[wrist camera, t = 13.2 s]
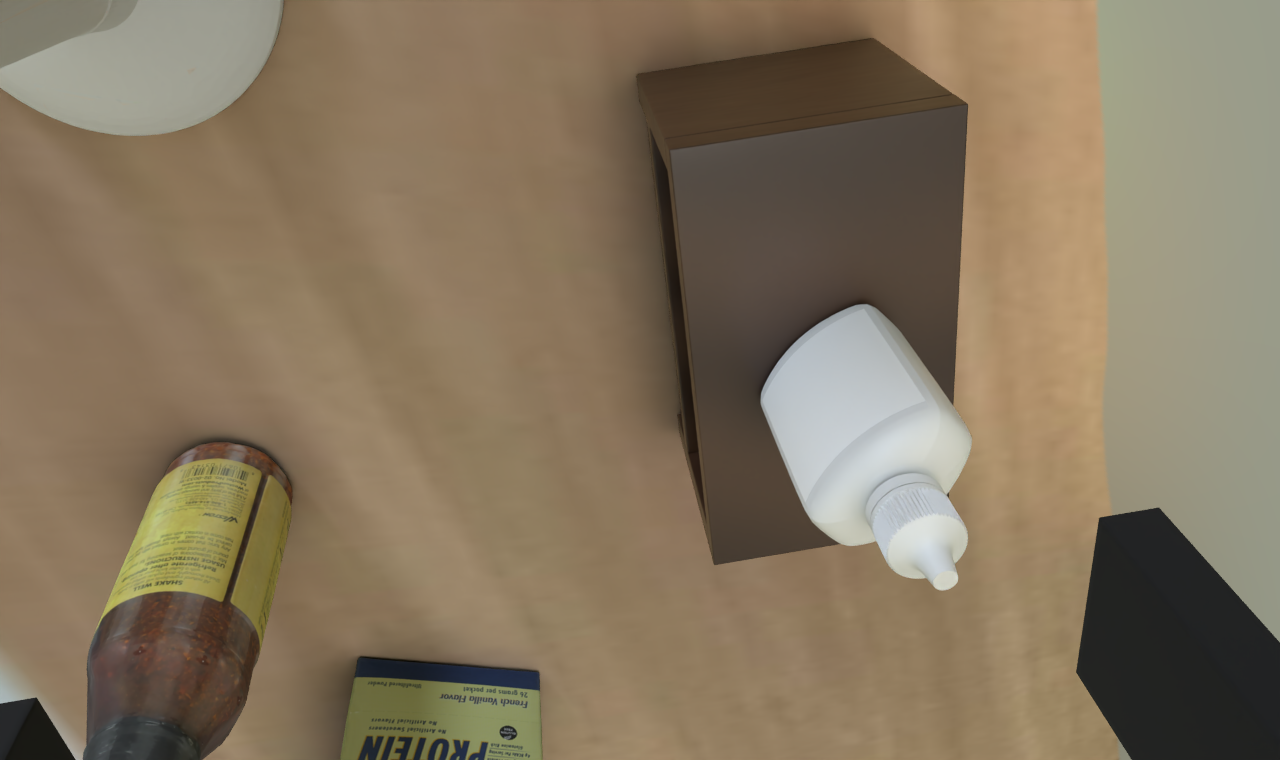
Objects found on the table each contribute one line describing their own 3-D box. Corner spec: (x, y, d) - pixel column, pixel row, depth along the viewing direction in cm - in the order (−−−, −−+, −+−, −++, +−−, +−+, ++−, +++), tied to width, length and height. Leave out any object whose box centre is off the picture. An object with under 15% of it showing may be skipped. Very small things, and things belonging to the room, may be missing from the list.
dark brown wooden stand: (635, 73, 41) (668, 149, 33) (874, 37, 42) (968, 103, 33) (679, 433, 51) (713, 565, 42) (874, 401, 51) (947, 526, 43)
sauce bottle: (136, 486, 49) (-61, 863, 32) (223, 411, 47) (63, 765, 30) (245, 560, 52) (117, 941, 35) (330, 492, 50) (240, 856, 33)
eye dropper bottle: (740, 338, 37) (830, 553, 26) (889, 289, 36) (1038, 489, 26) (767, 431, 39) (860, 664, 29) (908, 386, 39) (1053, 605, 28)
